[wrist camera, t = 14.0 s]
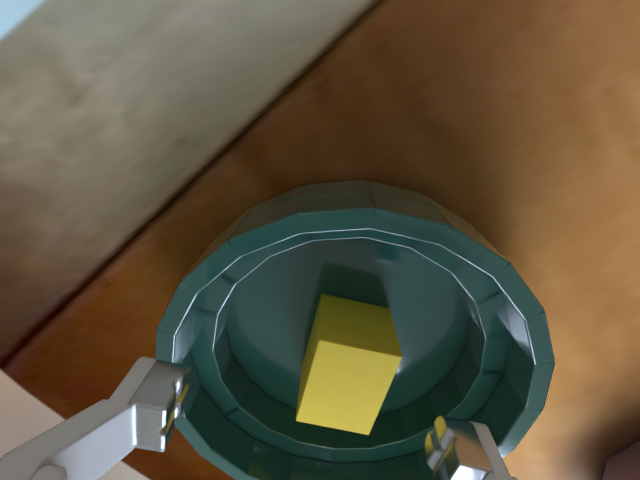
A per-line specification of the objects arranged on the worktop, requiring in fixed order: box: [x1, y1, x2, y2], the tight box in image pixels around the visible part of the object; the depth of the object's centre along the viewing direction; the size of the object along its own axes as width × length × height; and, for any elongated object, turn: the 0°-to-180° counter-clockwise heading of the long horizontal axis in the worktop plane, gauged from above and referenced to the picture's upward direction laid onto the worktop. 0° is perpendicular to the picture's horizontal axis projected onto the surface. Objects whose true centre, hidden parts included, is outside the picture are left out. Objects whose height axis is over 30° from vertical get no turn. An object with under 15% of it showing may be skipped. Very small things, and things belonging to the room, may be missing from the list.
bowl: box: [155, 180, 555, 480], centre depth 16 cm, size 17×17×4 cm
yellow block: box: [296, 294, 402, 435], centre depth 16 cm, size 5×4×4 cm
